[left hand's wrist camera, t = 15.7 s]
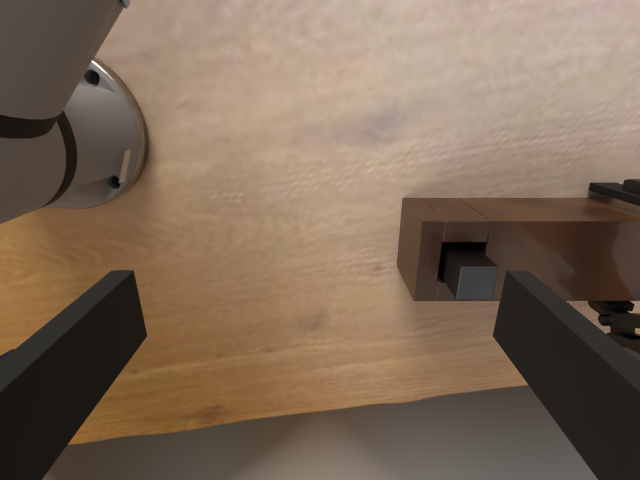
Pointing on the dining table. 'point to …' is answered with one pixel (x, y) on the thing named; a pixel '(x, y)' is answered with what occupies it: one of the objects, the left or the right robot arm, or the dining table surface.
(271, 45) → the dining table surface
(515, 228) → the peg block
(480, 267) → the peg
